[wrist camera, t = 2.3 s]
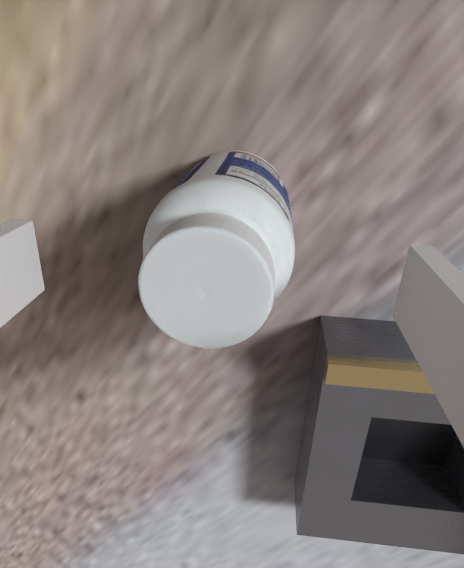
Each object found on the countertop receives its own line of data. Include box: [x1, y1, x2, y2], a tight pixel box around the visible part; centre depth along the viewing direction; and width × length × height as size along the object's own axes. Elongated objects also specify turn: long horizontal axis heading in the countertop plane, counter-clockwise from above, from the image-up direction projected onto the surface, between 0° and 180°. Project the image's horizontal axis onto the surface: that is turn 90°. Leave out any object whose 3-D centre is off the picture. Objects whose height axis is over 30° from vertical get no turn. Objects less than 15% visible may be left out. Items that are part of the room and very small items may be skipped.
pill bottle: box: [138, 150, 295, 349], centre depth 16 cm, size 5×5×10 cm
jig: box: [295, 316, 464, 554], centre depth 23 cm, size 14×12×4 cm
